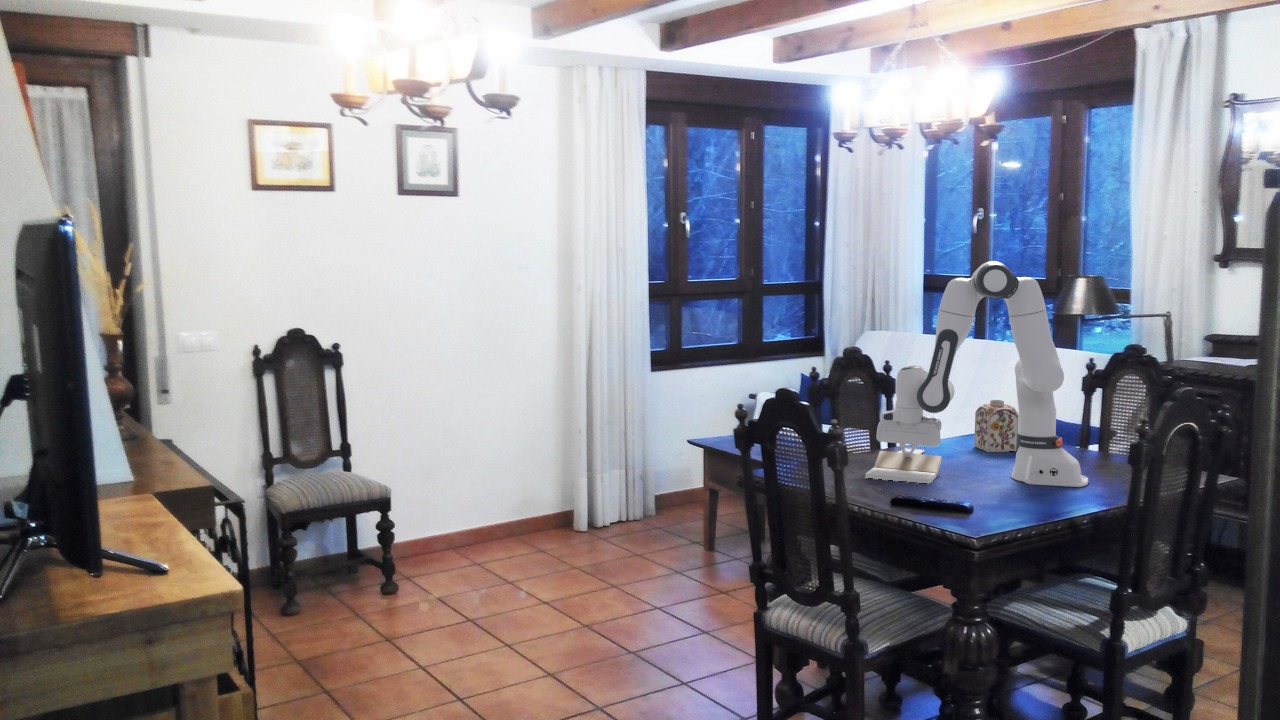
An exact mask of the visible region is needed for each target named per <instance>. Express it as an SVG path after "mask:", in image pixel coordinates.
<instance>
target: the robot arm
mask: <svg viewBox="0 0 1280 720" xmlns="http://www.w3.org/2000/svg"><path fill="white" fill-rule="evenodd" d="M985 297H986V298H987V297H988V298H994V299H995V298H996V299H1002V300H1004V301H1005V304H1006V307H1007V312H1008V319H1009V323H1010V329H1011V335H1012V339H1013V342H1014V345H1015V347H1016V350H1017V353H1018V356H1019V359H1018V360H1017V361H1016V364H1015V366H1014V373H1015V384H1016V396H1017V405H1018V433H1017V435H1016V451H1017V452H1015V453H1016V454H1015V460H1014V464H1013V465H1014V466H1013V469H1012V473H1011V474H1010V477H1011V478H1012V479H1013V480H1015V481H1018V482H1023V483H1025V484H1027V485H1035V486H1036V485H1037V486H1053V487H1054V486H1055V487H1057V486H1058V487H1071V488H1072V487H1073V488H1074V487H1075V488H1081V487H1085V486H1087V485H1088V484H1089V478H1088V477H1087V476H1086V475H1082V471H1081V465H1080V463H1079V460H1078V459H1077V458H1075V457H1074V456H1073V455H1072V454H1070V453H1069V452H1068V451H1066V450H1065V449H1064V448H1063V445H1064V444H1063V443H1064V442H1063V438H1062V437H1060V436H1058V435H1057V434H1056V431H1057V429H1056V428H1057V408H1056V407H1057V406H1056V405H1055V404H1056V403H1055V398H1054V392H1055V391H1057V390H1059V389H1060V388H1061V387H1062V386H1063V383H1064V380H1065V373H1064V371H1063V368H1062V365H1061V361H1060V359H1059V356H1058V355H1059V354H1058V351H1057V348H1056V345H1055V343H1054V341H1053V338H1052V332H1051V329H1050V323H1049V318H1048V313H1047V306H1046V303H1045V299H1044V294H1043V292H1042V290H1041V287H1040V285H1039V282H1038V281H1037V280H1036V279H1035V278H1032V277H1029V276H1028V277H1027V276H1021V277H1017V276H1016V275H1015V274H1014V273H1013V271H1012V270H1011V269H1010V268H1009V267H1008V266H1006V265H1005V264H1004V263H1002V262H1000V261H997V260H996V261H995V260H991V261H990V260H989V261H987V262H986V261H985V262H984V263H982V264H980V265H979V266H978V267H977V268H976V269H975V270H974V271H973V272H972V273H971V274H970V275H969V276H968V278H966V277H955V278H953V279H951V280H950V281H949V282H948V283H947V285H946V287H945V289H944V292H943V294H942V297H941V300H940V303H939V307H938V311H937V316H936V324H935V343H934V350H933V355H932V357H931V363H930V367H929V370H927V369H925V368H924V367H923V366H922V365H909V366H906V367H905V366H904V367H902V368H900V369H899V370H898V372H897V375H896V382H895V396H896V402H895V405H894V409H890V410H886V411H884V412H882V413H881V414H880V421H879V422H878V424H877V428H876V437H875V438H876V440H877V442H881V443H891V444H892V443H893V444H899V445H898V448H899V450H900V449H901V450H902V452H903V457H906V458H913V452H914V450H915V449H917V448H918V446H923V447H938V446H939V445H940V444H941V439H942V438H941V430H942V421H941V420H940V419H938V418H937V417H935V416H933V417H931V416H924V411H925V412H927V413H931V414H937V413H940V412H944V411H945V410H946V408H947V407H948V406H949V404H950V403H951V401H952V400H953V399H954V395H955V386H954V385H953V383H952V381H950V380H949V379H950V375H951V371H952V367H953V362H954V360H955V356H956V354H957V351H958V349H960V347H961V345H963V343H964V342H965V341H966V339H967V337H968V335H969V333H970V331H971V329H972V326H973V322H974V319H975V315H976V310H977V307H978V304H979V302H980V301H981V300H982V299H983V298H985ZM906 445H910V446H911V447H910V449H912V450H911V451H910V452H907V451H906V450H905V448H906Z"/></svg>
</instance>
